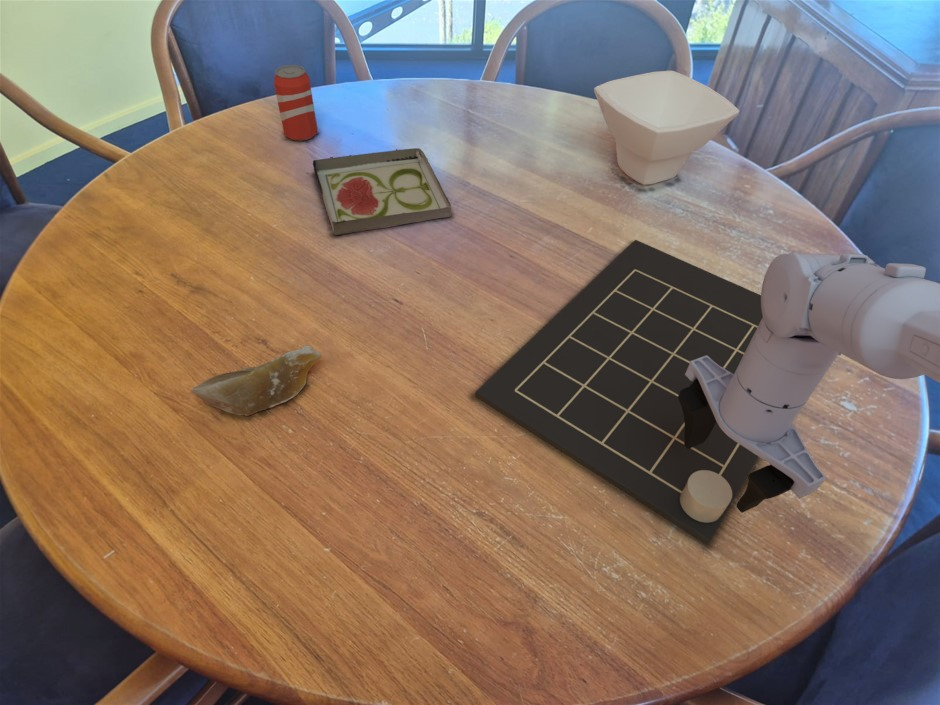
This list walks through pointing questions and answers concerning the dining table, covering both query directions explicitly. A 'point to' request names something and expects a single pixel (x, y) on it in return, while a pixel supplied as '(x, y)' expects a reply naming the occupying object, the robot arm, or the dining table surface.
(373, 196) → the decorative tile
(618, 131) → the bowl
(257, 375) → the stone
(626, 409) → the board
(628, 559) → the dining table surface
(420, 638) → the dining table surface
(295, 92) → the beverage can
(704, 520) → the cylinder
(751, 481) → the robot arm
